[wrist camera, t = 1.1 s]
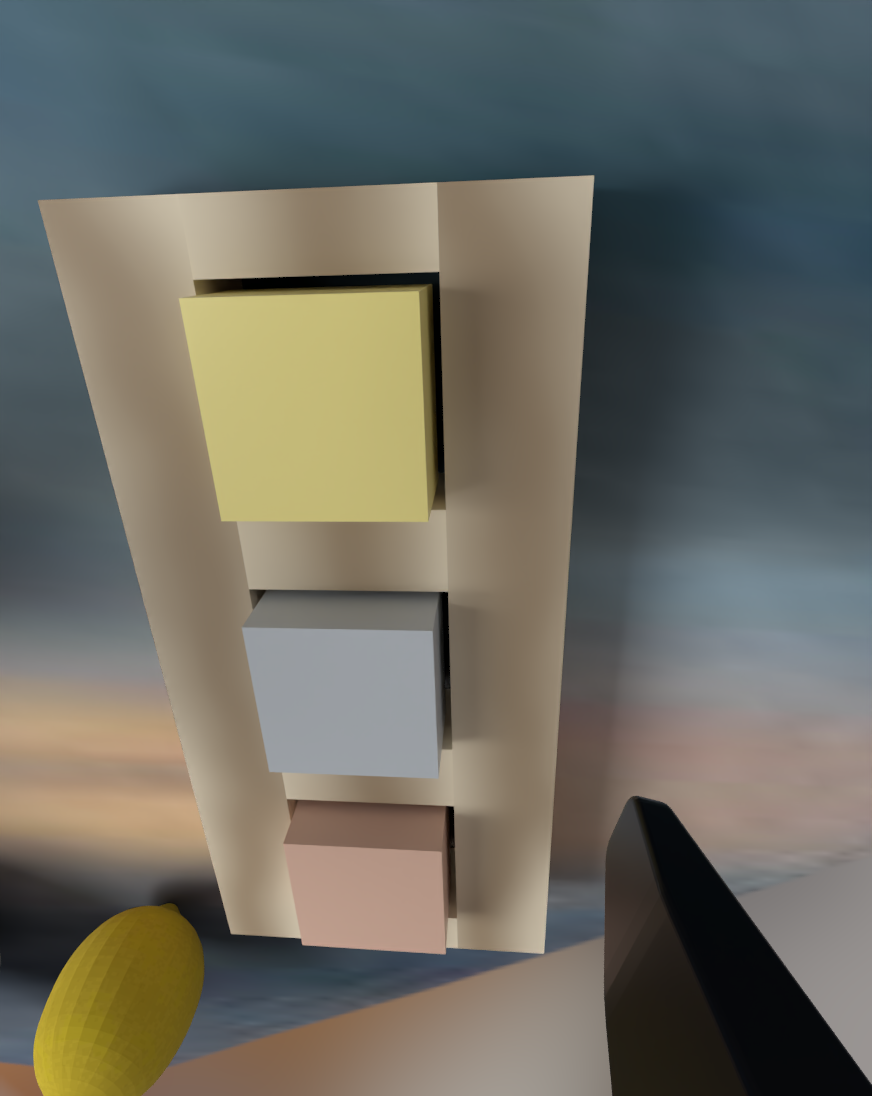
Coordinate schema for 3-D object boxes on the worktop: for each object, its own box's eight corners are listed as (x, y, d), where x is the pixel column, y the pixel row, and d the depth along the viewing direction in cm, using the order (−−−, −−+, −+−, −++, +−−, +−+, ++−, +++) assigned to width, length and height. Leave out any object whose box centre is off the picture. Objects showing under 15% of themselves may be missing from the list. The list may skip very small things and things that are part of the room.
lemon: (190, 853, 27) (82, 1070, 20) (252, 933, 29) (174, 1156, 22) (88, 877, 29) (-49, 1089, 21) (155, 952, 31) (50, 1169, 23)
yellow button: (262, 480, 18) (221, 521, 15) (232, 289, 16) (178, 298, 13) (438, 479, 17) (428, 521, 15) (432, 283, 15) (418, 291, 13)
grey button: (298, 705, 21) (269, 771, 19) (277, 574, 19) (241, 627, 16) (445, 710, 21) (438, 778, 18) (441, 575, 19) (432, 631, 16)
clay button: (323, 869, 25) (302, 945, 22) (308, 772, 23) (283, 844, 20) (451, 875, 24) (445, 954, 22) (447, 778, 22) (441, 851, 19)
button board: (257, 865, 27) (231, 933, 25) (112, 208, 17) (37, 200, 14) (538, 881, 26) (544, 953, 23) (576, 188, 16) (594, 175, 13)
